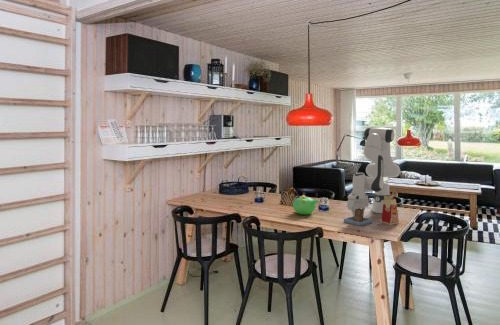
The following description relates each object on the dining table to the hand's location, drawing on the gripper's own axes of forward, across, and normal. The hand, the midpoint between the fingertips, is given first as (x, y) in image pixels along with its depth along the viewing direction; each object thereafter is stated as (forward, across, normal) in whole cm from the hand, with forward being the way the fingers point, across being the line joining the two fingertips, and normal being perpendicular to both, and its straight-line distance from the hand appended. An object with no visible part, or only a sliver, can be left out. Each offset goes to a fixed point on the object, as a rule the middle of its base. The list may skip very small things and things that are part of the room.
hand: (358, 214), depth 258 cm
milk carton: (+6, -17, +14) cm, 23 cm away
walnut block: (+5, 0, 0) cm, 5 cm away
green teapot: (+6, +12, -41) cm, 43 cm away
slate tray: (+6, 0, 0) cm, 6 cm away
